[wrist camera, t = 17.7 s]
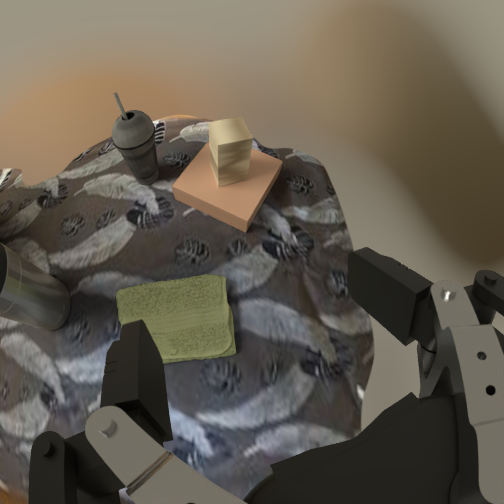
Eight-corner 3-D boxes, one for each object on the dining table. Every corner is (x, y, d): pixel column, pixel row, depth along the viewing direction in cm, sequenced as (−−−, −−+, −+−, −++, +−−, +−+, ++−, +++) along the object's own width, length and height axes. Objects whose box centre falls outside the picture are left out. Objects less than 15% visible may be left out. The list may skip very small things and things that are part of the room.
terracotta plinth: (175, 199, 47) (171, 186, 44) (215, 147, 53) (214, 133, 49) (245, 232, 46) (247, 221, 42) (279, 174, 51) (282, 161, 48)
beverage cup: (156, 194, 47) (128, 110, 29) (123, 187, 47) (88, 108, 29) (172, 164, 50) (155, 80, 32) (140, 158, 50) (115, 79, 32)
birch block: (218, 187, 44) (217, 145, 35) (210, 165, 46) (208, 122, 37) (247, 180, 45) (252, 138, 36) (237, 158, 47) (241, 116, 38)
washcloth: (239, 355, 39) (241, 355, 36) (127, 369, 36) (119, 369, 33) (224, 272, 44) (224, 266, 41) (118, 288, 41) (111, 282, 38)
